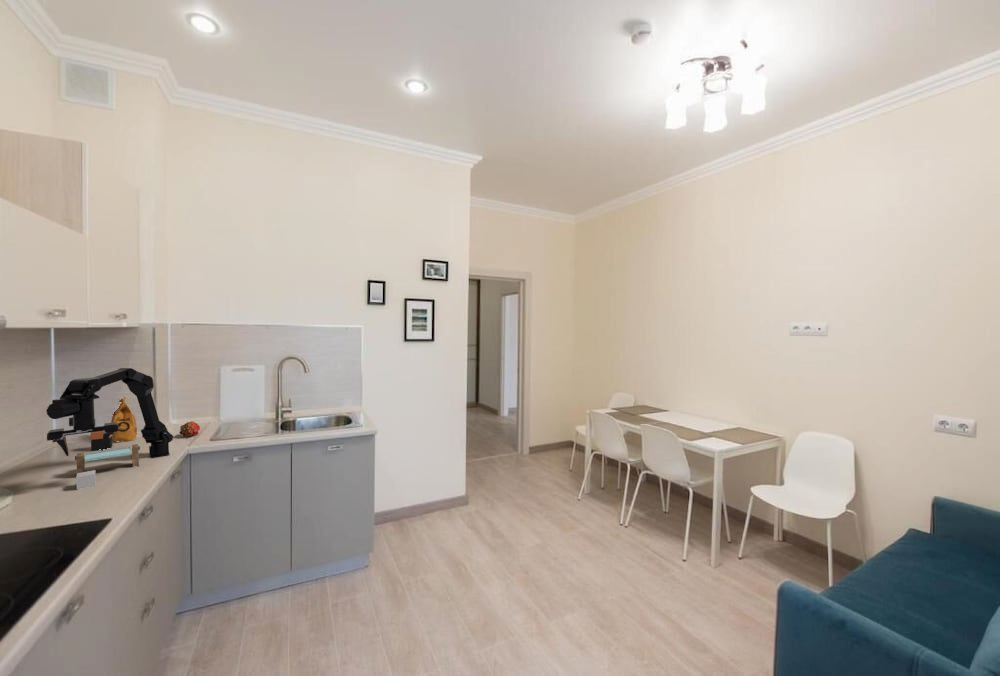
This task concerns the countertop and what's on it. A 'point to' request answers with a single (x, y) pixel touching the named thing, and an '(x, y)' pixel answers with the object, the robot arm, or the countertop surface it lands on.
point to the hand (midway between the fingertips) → (85, 453)
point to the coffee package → (124, 423)
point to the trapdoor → (107, 453)
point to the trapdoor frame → (81, 463)
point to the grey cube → (86, 479)
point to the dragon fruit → (189, 429)
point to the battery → (99, 441)
